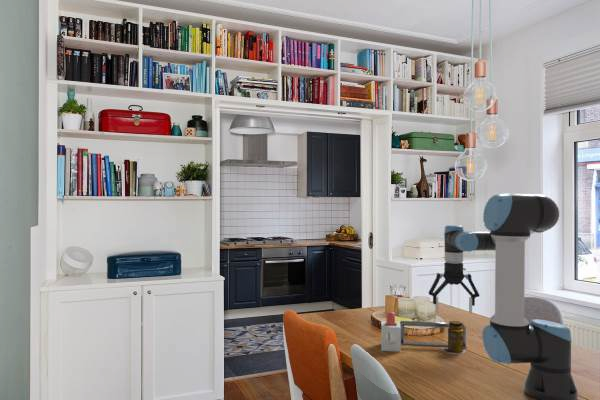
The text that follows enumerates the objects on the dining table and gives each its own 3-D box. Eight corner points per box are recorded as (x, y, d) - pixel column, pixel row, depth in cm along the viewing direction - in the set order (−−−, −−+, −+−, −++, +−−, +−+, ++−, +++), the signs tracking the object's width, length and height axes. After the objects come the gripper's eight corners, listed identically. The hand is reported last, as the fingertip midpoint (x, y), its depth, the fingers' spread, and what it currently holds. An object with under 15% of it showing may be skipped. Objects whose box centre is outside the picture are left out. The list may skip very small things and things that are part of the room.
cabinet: (400, 352, 197) (400, 328, 197) (381, 351, 199) (381, 327, 199) (399, 344, 208) (399, 321, 208) (381, 343, 209) (381, 321, 209)
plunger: (395, 334, 202) (395, 313, 202) (386, 334, 202) (386, 313, 202) (394, 332, 205) (394, 311, 205) (386, 332, 206) (386, 311, 206)
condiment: (467, 351, 198) (467, 323, 199) (454, 355, 194) (454, 325, 194) (453, 347, 205) (453, 319, 205) (440, 350, 200) (440, 322, 200)
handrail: (465, 345, 206) (465, 322, 207) (466, 347, 204) (466, 324, 204) (399, 342, 211) (399, 319, 211) (399, 344, 208) (399, 321, 208)
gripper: (483, 261, 201) (482, 311, 201) (422, 260, 205) (422, 309, 205) (486, 264, 194) (486, 316, 194) (423, 262, 198) (423, 313, 198)
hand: (453, 312), depth 200 cm, fingers open, 13 cm apart
